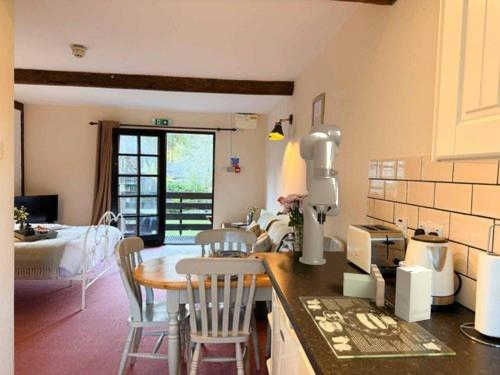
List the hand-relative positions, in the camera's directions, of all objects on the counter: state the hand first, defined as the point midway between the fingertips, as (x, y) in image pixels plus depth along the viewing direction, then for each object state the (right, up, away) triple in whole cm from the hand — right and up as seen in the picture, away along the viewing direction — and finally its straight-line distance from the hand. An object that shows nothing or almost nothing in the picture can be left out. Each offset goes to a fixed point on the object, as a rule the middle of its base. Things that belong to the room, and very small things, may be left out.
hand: (321, 223), depth 129 cm
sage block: (+12, -24, -5) cm, 27 cm away
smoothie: (+32, -25, +1) cm, 40 cm away
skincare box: (+22, -25, -25) cm, 42 cm away
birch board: (+18, -24, -6) cm, 31 cm away
